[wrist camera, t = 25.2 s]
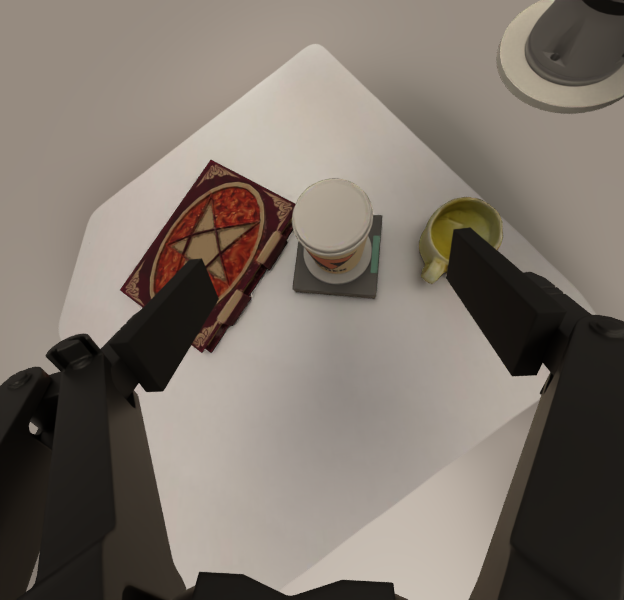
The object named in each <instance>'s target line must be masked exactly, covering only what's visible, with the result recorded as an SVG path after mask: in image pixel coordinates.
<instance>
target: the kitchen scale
mask: <svg viewBox="0 0 624 600" xmlns="http://www.w3.org/2000/svg"><path fill="white" fill-rule="evenodd" d="M381 225H382V216H381V215H373V222H372V226H371V229H370V232H369V234H368V237H367V240H366V244H365V247H364V250H363V254H362V257H361V259H360V261H359V263H358V264H357V265H356V266H355V267H354V268H353V269H352V270H350V271H348V272H346V273H343V274H331V273H328V272H325V271H324V270H322V269H321V268H320V267H319V266H318V265H317V264H316V263H315V261H314V260H313V259H312V257H311V256H310V255H309V253H308V252H307V250H306V249H305V247H304V246H303V245H302V244H301V243H300V242H298V249H297V257H296V265H295V273H294V281H293V290H294V291H295V292H300V293H312V294H324V295H336V296H348V297H360V298H372V299H375V297H376V290H377V277H378V264H379V251H380V238H381Z"/></svg>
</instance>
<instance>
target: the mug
mask: <svg viewBox="0 0 624 600" xmlns="http://www.w3.org/2000/svg"><path fill="white" fill-rule="evenodd" d="M469 227H470V228H472V229H473V230H474V231H475V232H476V233H477V234H479V235H480V236H481V237H482V238H483V239H484V240H486V241H487V242H488V243H489V244H490V245H491V246H493V247H494V248H495V249H496V250H498V248H499V247H500V245H501V242H502V239H503V232H502V220H501V217H500V214H499V213H498V212H497V211H496V210H495V208H493V207H492V206H491V205H490V204H488V203H486V202H484V201H483V200H481V199H477V198H471V197H462V198H457V199H453V200H451V201H449V202H447V203H445V204H444V205H442V206H441V207H440V208H438V209H437V210H436V211H435V212H434V214H433V215H432V216H431V218H430V219H429V221H428V223H427V226H426V229H425V230H424V232H423V233H422V235H421V238H420V241H419V250H420V254H421V256H422V258H423V260H424V262H425V266H424V268H423V269H422V273H421V277H422V278H423V279H424V280H425V281H426V282H428V283H430V284H433V283H434V282H436V281H437V280H438V279H439V277H440V276H441V275H442V274H443V273H447V269H448V263H449V256H450V249H451V242H452V236H453V229H460V228H469Z"/></svg>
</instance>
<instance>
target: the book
mask: <svg viewBox="0 0 624 600" xmlns="http://www.w3.org/2000/svg"><path fill="white" fill-rule="evenodd" d="M295 205H296V204H295V203H293V202H291V201H289V200H287V199H285V198H283V197H281V196H279V195H278V194H276V193H274V192H272V191H270V190H268V189H266V188H264V187H262V186H260V185H258V184H257V183H255V182H253V181H251V180H249V179H247V178H245V177H243V176H241V175H239V174H237V173H236V172H234V171H232V170H230V169H228V168H226V167H224V166H222V165H220V164H218V163H216V162H215V161H213V160H210V162H209V163H208V164H207V166H206V167H205V169H204V170H203V172H202V173H201V174H200V176H199V177H198V179H197V180H196V182H195V183H194V184H193V186H192V187H191V189H190V190H189V192H188V193H187V194H186V196H185V197H184V199H183V200H182V202H181V203H180V205H179V206H178V207H177V209H176V210H175V212H174V213H173V215H172V216H171V217H170V219H169V220H168V222H167V223H166V225H165V226H164V227H163V229H162V230H161V232H160V233H159V235H158V236H157V238H156V239H155V240H154V242H153V243H152V245H151V246H150V248H149V249H148V250H147V252H146V253H145V255H144V256H143V258H142V259H141V260H140V262H139V263H138V265H137V266H136V268H135V269H134V271H133V272H132V273H131V275H130V276H129V278H128V279H127V281H126V282H125V283H124V285H123V286H122V288H121V289H120V290H121V291H122V292H123V293H124V294H126V295H127V296H128V297H130V298H131V299H132V300H134V301H135V302H136V303H137V304H139V305H140V306H141V307H144V306H145V305H146V304H147V303H148V302H149V301H150V300H151V299H152V298H153V297H154V296H155V295H156V294H157V293H158V292H159V291H160V290H161V289H162V287H163V286H164V285H165V284H166V283H167V282H168V281H169V280H170V279H171V278H172V277H173V276H174V275H175V274H176V273H177V272H178V271H179V270H180V269H181V268H182V267H183V266H184V265H185V264H186V263H187V261H188V260H191V259H200V258H202V259H203V262H204V264H205V267H206V269H207V271H208V274H209V276H210V279H211V281H212V283H213V286H214V288H215V291H216V293H217V295H218V298H219V300H218V302H217V303H216V305H215V306H214V308H213V310H212V311H211V313H210V315H209V316H208V318H207V320H206V321H205V323H204V325H203V326H202V328H201V330H200V331H199V333H198V335H197V336H196V338H195V340H194V341H193V343H192V346H194V347H195V348H196V349H197V350H199V351H200V352H201V353H202V352H203V351H204V349H206V350H208V351H209V352H210V353H212V351H213V350H214V348H215V347H216V345H217V344H218V342H219V341H220V339H221V337H222V336H223V334H224V333H225V331H226V330H227V328H228V327H229V326H233V325H234V323H235V322H236V320H237V319H238V317H239V316H240V314H241V312H242V311H243V309H244V308H245V306H246V305H247V303H248V302H249V300H250V299H251V297H250V296H249V295H250V294H251V292H252V290H253V289H254V287H255V286H256V284H257V283H258V281H259V280H260V278H261V277H262V275H263V274H264V272H265V271H266V269H269V270H270V268H271V267H272V265H273V264H274V262H275V261H276V259H277V258H278V256H279V255H280V253H281V252H282V250H283V249H284V247H285V246H286V244H287V241H286V239H287V237H288V236H289V234H290V233H291V231H292V230H293V225H292V214H293V210H294V207H295Z"/></svg>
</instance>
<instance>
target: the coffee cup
mask: <svg viewBox="0 0 624 600" xmlns="http://www.w3.org/2000/svg"><path fill="white" fill-rule="evenodd" d="M372 222H373V209H372V205H371V202H370V200H369V198H368V196H367V195H366V194H365V192H364V191H363V190H362V189H360V188H359V187H358V186H357V185H355V184H354V183H352V182H350V181H347V180H343V179H325V180H322V181H319V182H317V183H315V184H313V185H311V186H310V187H308V188H307V189H306V190H305V191H304V192H303V193H302V194H301V196H300V197H299V199H298V200H297V202H296V205H295V207H294V210H293V214H292V225H293V230H294V233H295V235H296V237H297V239H298V240H299V242H300V243H301V244H302V245H303V246H304V247H305V249H306V250H307V252H308V253H309V255H310V256H311V257H312V259H313V260H314V261H315V263H316V264H317V265H318V266H319V267H320V268H321V269H322V270H324V271H325V272H328V273H331V274H343V273H346V272H348V271H350V270H352V269H353V268H354V267H355V266H356V265H357V264H358V263H359V261H360V259H361V257H362V254H363V250H364V247H365V244H366V240H367V237H368V234H369V232H370V229H371V226H372Z"/></svg>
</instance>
